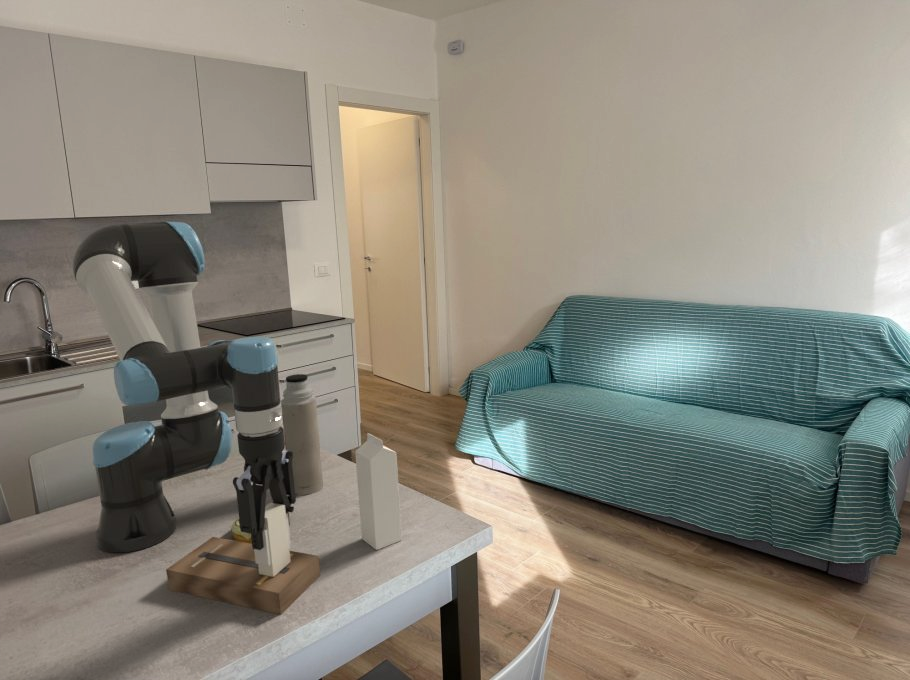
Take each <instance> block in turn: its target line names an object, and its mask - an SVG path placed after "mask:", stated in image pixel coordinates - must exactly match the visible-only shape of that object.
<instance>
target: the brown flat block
mask: <svg viewBox="0 0 910 680" xmlns="http://www.w3.org/2000/svg"><path fill="white" fill-rule="evenodd" d="M290 560H291V562H290V563H289V564H288V565H286V566H285V567H284V568H283V569H282V570H281V571H280V572H279V573H277V574H276V575H275V576H274V577H272V576H267V575H262V574H259V567H258V564H257V563H256V561H255V552H254V549H253V547H252V544H250V543H245V542H239V541H236V540H235V539H227V538H222V537H216V536H212V537H210V538H209V539H207V540H206V541H205V542H203V543H202V544H200V545H199V546H197V547H195V549H193V550H192V551H190V552H189V553H187V554H186V555H185V556H183V557H182V558H181V559H179V560H177V561H176V562H175V563H173V564H172V565H171V566H169V567H167V568H166V569H165V570H166V579H167V585H168V590H169V591H174V592H179V593H183V594H188V595H192V596H197V597H199V598H200V597H202V598H204V599H205V598H206V599H210V600H215V601H218V602H223V603H228V604H232V605H236V606H242V607H246V608H250V609H253V610H254V609H255V610H259V611H264V612H268V613H272V614H277V615H282V614H283V613H284V612H285V611H286V610H287V609H288V608H290V606H292V604H293V603H295V601H297V599H298V598H299V597H300V596H301V595H302V594H304V592H306V591H307V589H308V588H309V587H310V586H311V585H313V583H315V581H316V580H317V579H318V578H320V576H321V572H320V571H321V569H320V560H319V555H316V554H311V553H305V552H299V551H293V550H290Z"/></svg>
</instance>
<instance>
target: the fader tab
mask: <svg viewBox="0 0 910 680" xmlns="http://www.w3.org/2000/svg"><path fill="white" fill-rule="evenodd" d="M256 524H257V523H256ZM264 528H266V529H268V536H269V545H270V554H271V563H272V564H270V565H269V566H267V565H262V564H258V567H259V574H262V575H267V576H272V577H274V576H275V575H276V574H277V573H279V572H280V571H281V570H282V569H283V568H284V567H285V566H286V565H288V564H289V563H290V562H291V560H290V551H291V550H290V548H289V541H288V531H287V521H286V511H285V505H281V504H275V503H273V502H270V503H269V504H267V505H265V521H264Z"/></svg>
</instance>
